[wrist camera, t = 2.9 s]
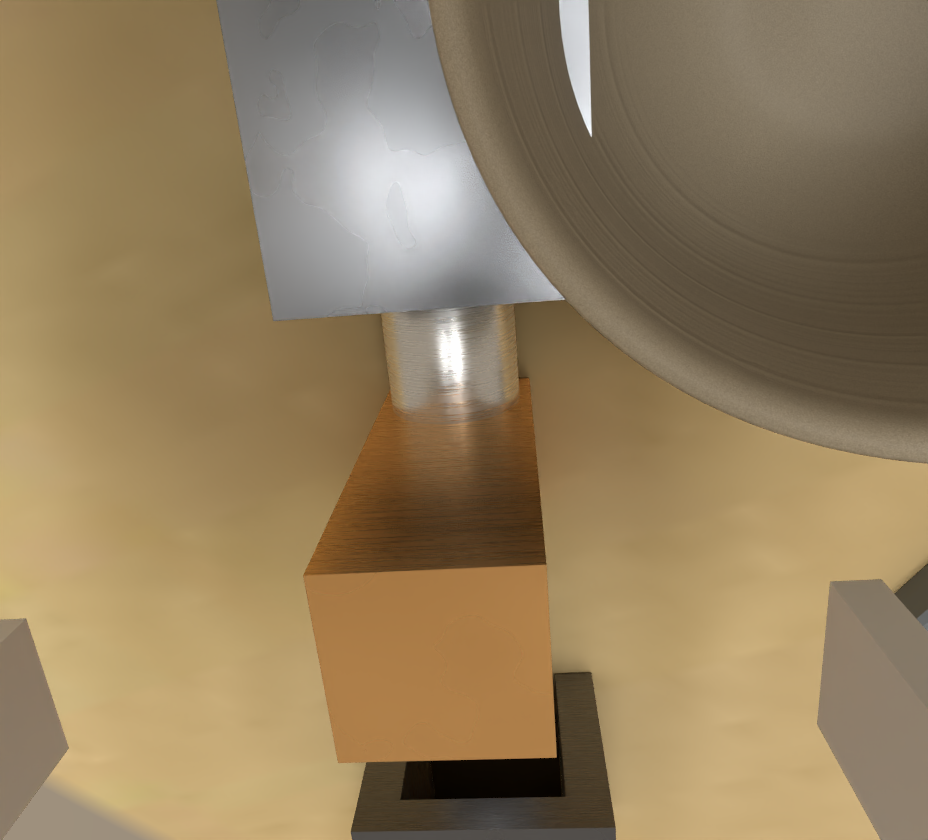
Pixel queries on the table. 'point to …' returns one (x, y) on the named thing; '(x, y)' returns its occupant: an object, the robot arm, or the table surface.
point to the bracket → (916, 596)
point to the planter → (723, 195)
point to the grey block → (371, 160)
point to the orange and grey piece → (439, 557)
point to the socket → (499, 819)
